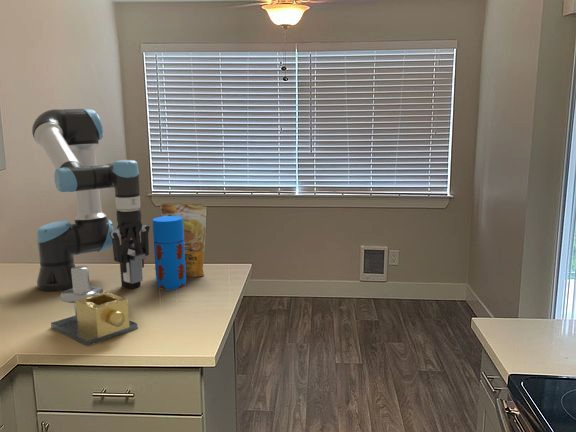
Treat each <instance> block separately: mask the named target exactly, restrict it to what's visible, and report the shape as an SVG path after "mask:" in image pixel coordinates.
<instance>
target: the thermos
mask: <svg viewBox="0 0 576 432" xmlns="http://www.w3.org/2000/svg"><path fill="white" fill-rule="evenodd" d="M152 236H153V237H152V238H153V251H154V254H153V255H154V263H155V265H154V266H155V278H156V279H155V280H156V286H157V288H158V289H161V290H168V291H169V290H170V291H171V290H178V289H181V288H184V287H185V286H186V285H187V277H186V265H185V247H184V229H183V219H182V217H179V216H164V217H161V216H158V217H154V218H153V219H152Z"/></svg>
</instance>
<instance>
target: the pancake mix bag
mask: <svg viewBox="0 0 576 432" xmlns="http://www.w3.org/2000/svg"><path fill="white" fill-rule="evenodd" d="M158 207H159V212H160V213H159V214H160V216H159V217H164V216H179V217H182V219H183V229H184V247H185V265H186V278H188V277H189V278H198V276H199V277H203V276H205V274H204V273H205V272H204V269H203V267H204V261H205V249H206V237H207V225H208V223H207V222H208V213H209V212H208V207H207V206H205V204H201V203H200V204H196V203H195V204H194V203H193V204H190V203H162V204H160V205H159V206H158ZM187 276H188V277H187Z"/></svg>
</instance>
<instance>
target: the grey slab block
mask: <svg viewBox="0 0 576 432" xmlns="http://www.w3.org/2000/svg"><path fill="white" fill-rule="evenodd" d="M146 258H147V256H146V254H144V253H141V252H137V251H134V250H131V249H128V255H127V262H129V269H130V282H129V283H131V284H133V283H136V282H140V281H141V282H142V281H143V279H144V277H143V278H142V271H143V268H142V261H141V260H142V259H144V260H146ZM123 281H124V278H123Z"/></svg>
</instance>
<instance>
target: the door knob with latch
mask: <svg viewBox="0 0 576 432" xmlns="http://www.w3.org/2000/svg"><path fill="white" fill-rule="evenodd" d="M71 273H72V284H73V287H72V288H69V289H65V290H63V291H62V292H61V293H60V300H61V301H62V302H64V303H70V304H74V312H75V313H74V314H75V315H72V316H70V317H66V318H63V319H59V320H56V321H51V322H50V326H51V329H53V330H56V332H57V331H58V332H59V333H62V334H63V335H65V336H67V337H69V338H71V339H73V340H75V341H77V342H79V343H81V344H83V345H84V346H87V347H88V346H92V345H95V344H98V343H100V342H102V341H105V340H106V341H107V340H109V339H111V338H114V337H118V336H120V335H123V334H125V333H128V332H131V331H134V330H137V329H138V326H139V325H138V323H137V322H135V321H132V320H130V316H129V303H128V298H125V297H123V296H120V295H117V294H115V293H112V292H109V291H104V288H102V287H101V286H96V285H91V284H90V283H91V282H90V271H89V266H87V265H80V266H76V267H73V268H71Z"/></svg>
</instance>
